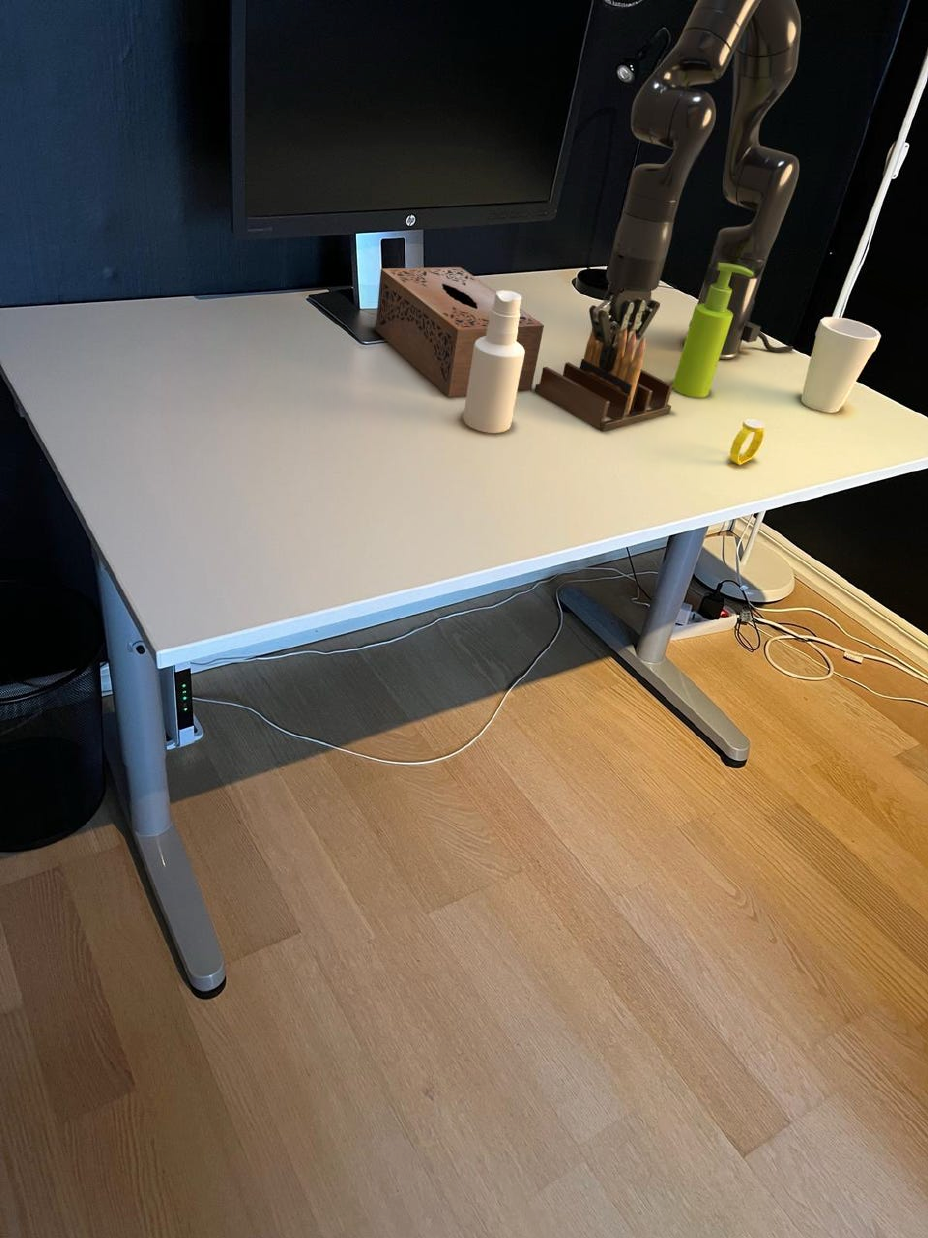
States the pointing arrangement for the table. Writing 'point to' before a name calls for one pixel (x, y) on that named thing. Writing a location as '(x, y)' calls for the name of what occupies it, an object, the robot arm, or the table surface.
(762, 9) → the robot arm
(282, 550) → the table surface
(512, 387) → the spray bottle
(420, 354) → the tissue box cover
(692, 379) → the soap dispenser
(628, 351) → the ammunition clip
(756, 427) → the watch
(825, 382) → the foam cup
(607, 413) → the slotted rack
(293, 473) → the table surface
